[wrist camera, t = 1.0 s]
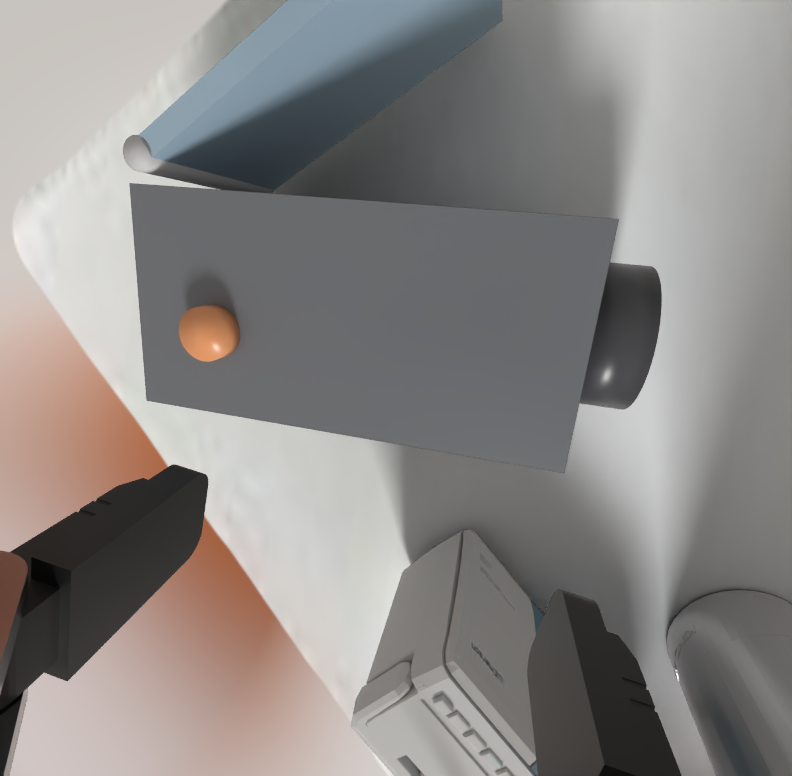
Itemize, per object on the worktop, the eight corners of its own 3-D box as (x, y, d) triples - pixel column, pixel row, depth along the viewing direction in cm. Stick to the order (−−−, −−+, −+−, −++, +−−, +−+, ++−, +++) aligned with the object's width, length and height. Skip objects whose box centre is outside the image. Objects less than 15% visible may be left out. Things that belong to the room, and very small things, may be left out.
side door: (486, -13, 24) (472, -206, 14) (504, 23, 25) (502, -139, 14) (245, 174, 30) (109, 134, 20) (261, 203, 30) (135, 178, 20)
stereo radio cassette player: (642, 716, 36) (791, 1224, 17) (550, 749, 39) (591, 1215, 20) (474, 512, 34) (436, 825, 16) (391, 561, 37) (274, 877, 18)
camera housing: (627, 236, 27) (725, 224, 15) (591, 399, 30) (648, 498, 18) (264, 208, 31) (111, 179, 19) (264, 352, 34) (131, 406, 22)
